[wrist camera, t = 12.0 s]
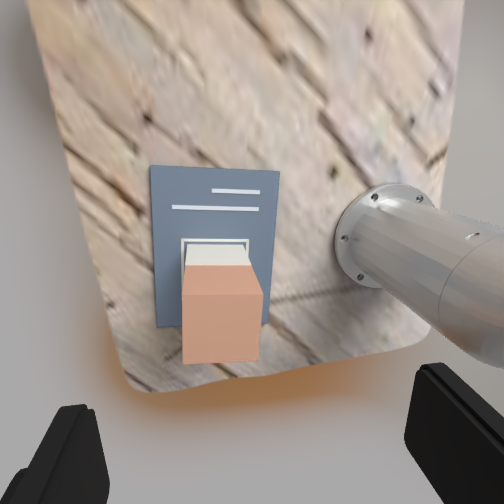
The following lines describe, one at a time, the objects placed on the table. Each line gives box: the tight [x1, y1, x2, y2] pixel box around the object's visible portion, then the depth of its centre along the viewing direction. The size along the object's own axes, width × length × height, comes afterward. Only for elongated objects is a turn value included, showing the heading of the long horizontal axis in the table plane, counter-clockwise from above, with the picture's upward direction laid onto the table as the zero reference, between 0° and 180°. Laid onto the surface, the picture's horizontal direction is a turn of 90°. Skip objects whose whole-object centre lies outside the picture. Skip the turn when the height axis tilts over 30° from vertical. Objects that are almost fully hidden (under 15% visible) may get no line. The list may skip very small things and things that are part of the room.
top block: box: [182, 265, 264, 364], centre depth 28 cm, size 6×6×6 cm
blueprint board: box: [150, 165, 280, 327], centre depth 36 cm, size 13×18×1 cm
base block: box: [185, 244, 251, 265], centre depth 33 cm, size 6×6×6 cm
